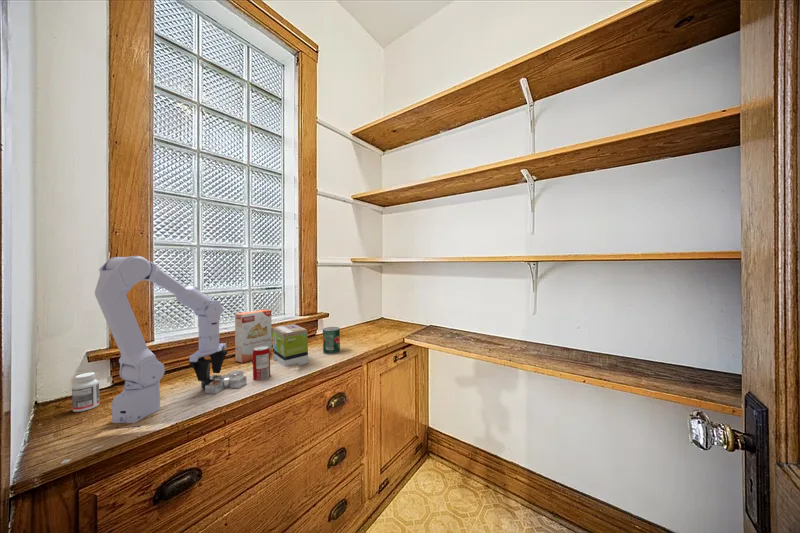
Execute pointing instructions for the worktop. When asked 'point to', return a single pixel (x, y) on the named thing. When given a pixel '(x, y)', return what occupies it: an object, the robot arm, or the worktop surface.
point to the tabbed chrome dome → (225, 382)
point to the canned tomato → (331, 340)
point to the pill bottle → (85, 392)
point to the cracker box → (252, 333)
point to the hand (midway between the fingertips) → (209, 376)
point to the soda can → (261, 363)
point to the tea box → (290, 345)
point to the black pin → (206, 378)
